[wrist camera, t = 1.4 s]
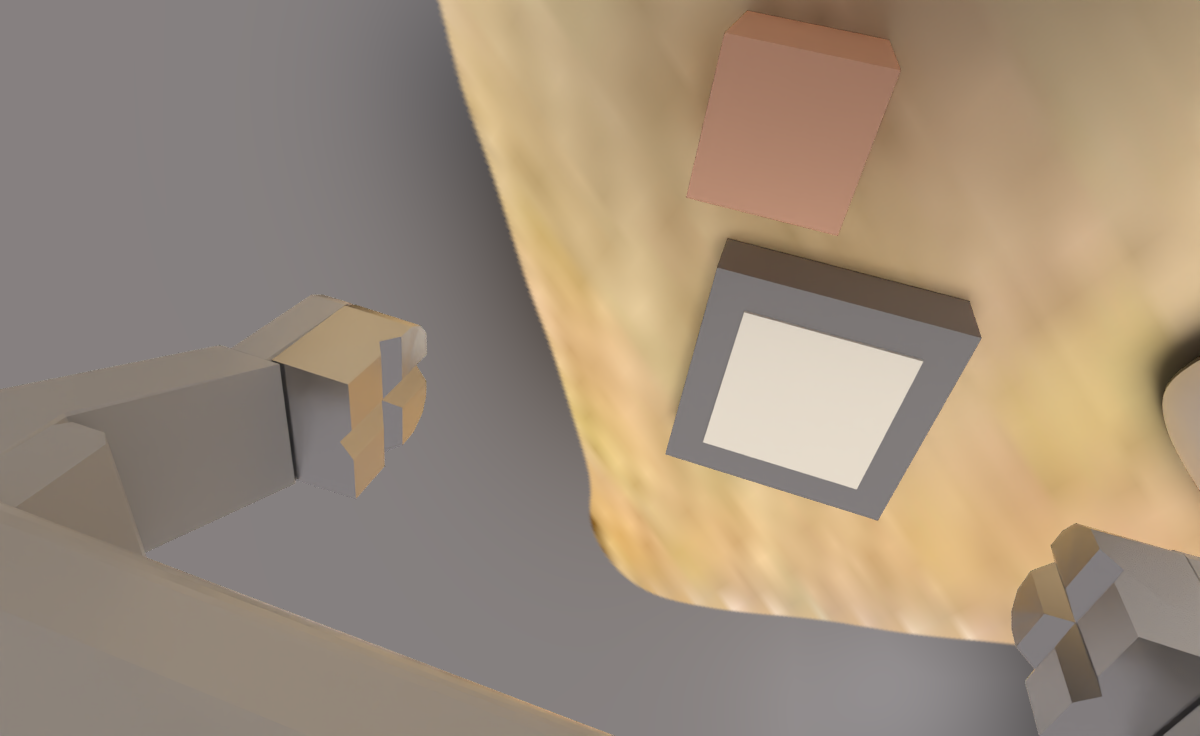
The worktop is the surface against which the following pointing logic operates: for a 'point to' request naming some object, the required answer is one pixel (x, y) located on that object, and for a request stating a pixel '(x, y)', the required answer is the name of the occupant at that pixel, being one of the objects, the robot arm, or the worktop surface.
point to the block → (792, 120)
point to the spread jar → (1185, 416)
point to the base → (818, 377)
